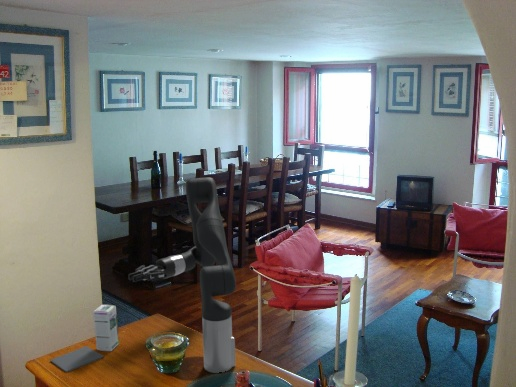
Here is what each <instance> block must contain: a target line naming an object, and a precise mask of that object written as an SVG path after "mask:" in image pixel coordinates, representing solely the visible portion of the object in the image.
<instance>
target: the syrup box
mask: <svg viewBox="0 0 516 387" xmlns="http://www.w3.org/2000/svg"><path fill="white" fill-rule="evenodd" d="M92 314H93V324H94V325H93V326H94V333H95V344H96V350H97V351H103V352H113V350H114V349H115V348H116V347H117V346H118V345H119V344H120V339H119V337H120V336H119V327H118V326H119V325H118V316H117V315H118V314H117V307H116V305H113V304H100V306H98V307H96V309H95V310H93V311H92Z"/></svg>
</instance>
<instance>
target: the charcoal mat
mask: <svg viewBox="0 0 516 387" xmlns="http://www.w3.org/2000/svg"><path fill="white" fill-rule="evenodd" d="M100 359H104V356H103V355H102V354H101V353H99V352H97V351H96V350H94V349H92V348H91V347H89V346H87V345H86V346H83V347H80V348H77V349H75V350H72V351H70V352H67V353H64V354H62V355H59V356H57V357H54V358H52V359H50V362H51V363H53V364H54V365H55V366H57V367H58V368H60V369H61V370H62V371H64V372H65V373H70V372H71V371H74V370H76V369H78V368H82V367H83V366H86V365H89V364H91V363H93V362H96V361H98V360H100Z"/></svg>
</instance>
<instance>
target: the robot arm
mask: <svg viewBox="0 0 516 387" xmlns="http://www.w3.org/2000/svg"><path fill="white" fill-rule="evenodd" d="M185 194H186V201H187V206H188V212H189V217H190V222H191V225H192V237H193V238H192V239H193V244H194V246H193V247H192V248H190V249H188V250H187V251H186V252H183V253H179V254H176V255H175V254H174V255H169V256H167V257H163V258H160V259H159V258H158V259H157V260H156V261H155V263H154V264H150V265H149V266H146V265H145V264H142V265H140V266H138V267H137V268H135V269H134V270H135V272H132V273H128V275H127V276H128V277H127V278H128V280H129V281H132V282H133V283H137V282H140V281H146V280H147V281H148V282H151V281H160V280H166V279H168V278H172V277H175V276H178V275H180V274H182V273H184V272H185V273H186V272H189V271H191V270H193V269H194V268H195V267H196V266H197V265H199V266H201V268H200V271H199V287H200V294H201V295H200V296H201V297H200V298H201V318H202V320H201V321H202V322H201V323H202V347H203V349H202V351H203V368H204V371H207V372H209V373H212V374H220V373H219V372H222V373H226V372H228V371H230V370H232V368H233V367H236V339H235V337H234V336H233V324H232V323H233V321H232V319H233V318H232V307H231V305H230V304H229V303H227V302H224V301H221V300H218V299H215V298H214V297H218V296H227V295H231V294H234V293H235V290H236V288H237V282H236V275H235V274H236V273H235V271H234V268H233V263H232V261H231V256H230V254H229V251H228V245H227V237H226V231H225V227H224V222H223V219H222V215H221V212H220V211H221V210H220V206H219V205H220V204H219V198H218V197H219V196H218V190H217V184H216V181H215V179H214V178H213V177H208V176H207V177H196V178H189V179H187V181H186V183H185ZM204 203H207V205H206V207H205V208H204V211H202V212H201V211H200V210H199V208H198V205H197V204H204ZM216 262H217V264H218V265H215V263H216ZM225 371H226V372H225Z"/></svg>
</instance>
